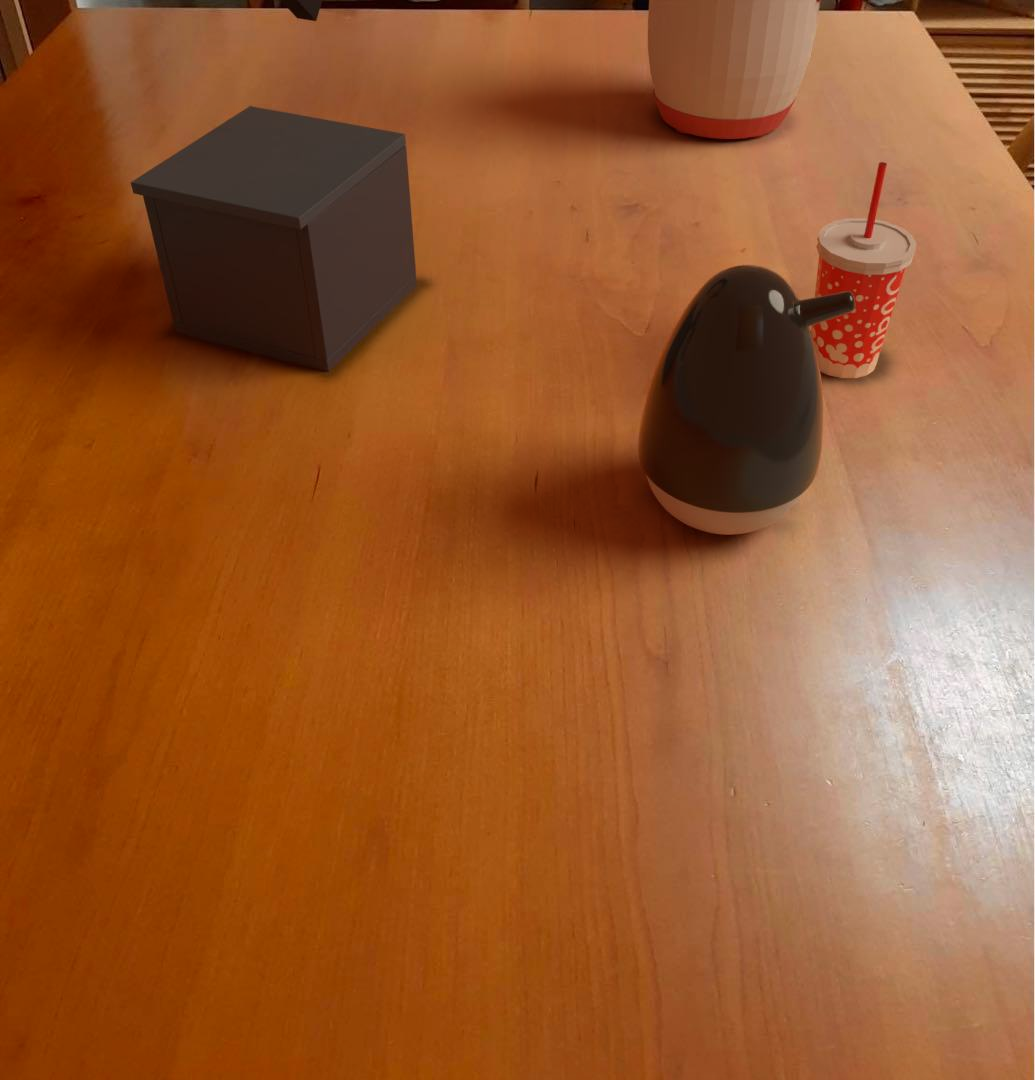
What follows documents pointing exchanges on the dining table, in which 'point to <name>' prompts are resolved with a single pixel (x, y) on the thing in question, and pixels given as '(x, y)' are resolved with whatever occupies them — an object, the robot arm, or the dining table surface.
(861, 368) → the beverage cup
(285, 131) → the lid
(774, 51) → the citrus juicer
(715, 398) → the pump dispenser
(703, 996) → the dining table surface
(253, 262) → the box
